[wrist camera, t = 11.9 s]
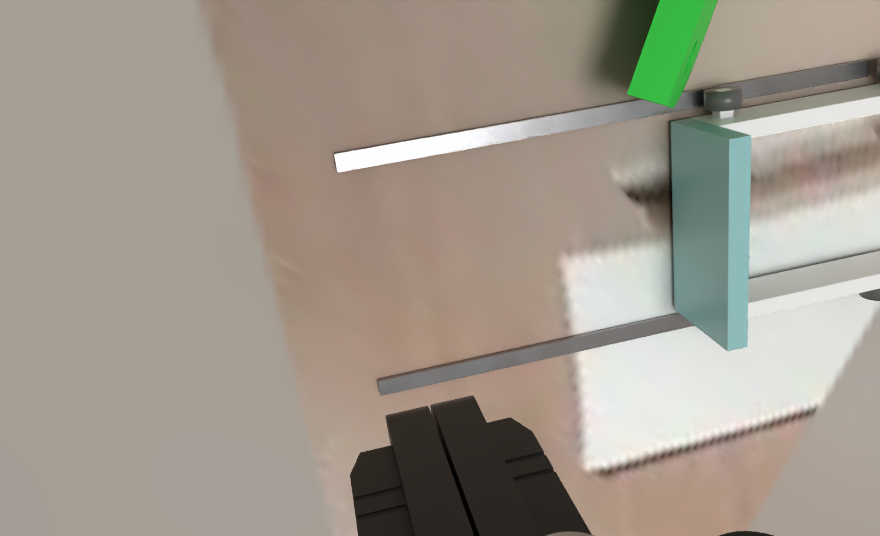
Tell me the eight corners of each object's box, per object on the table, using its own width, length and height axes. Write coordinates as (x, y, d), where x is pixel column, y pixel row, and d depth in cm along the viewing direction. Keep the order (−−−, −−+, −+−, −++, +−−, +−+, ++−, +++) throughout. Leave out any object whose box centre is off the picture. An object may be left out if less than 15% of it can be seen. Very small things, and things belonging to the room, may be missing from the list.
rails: (333, 153, 39) (334, 154, 39) (865, 59, 43) (869, 59, 43) (379, 393, 45) (380, 395, 44) (848, 288, 49) (851, 290, 49)
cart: (670, 95, 41) (729, 109, 36) (907, 53, 43) (998, 60, 38) (675, 330, 47) (727, 374, 41) (885, 283, 49) (962, 319, 43)
